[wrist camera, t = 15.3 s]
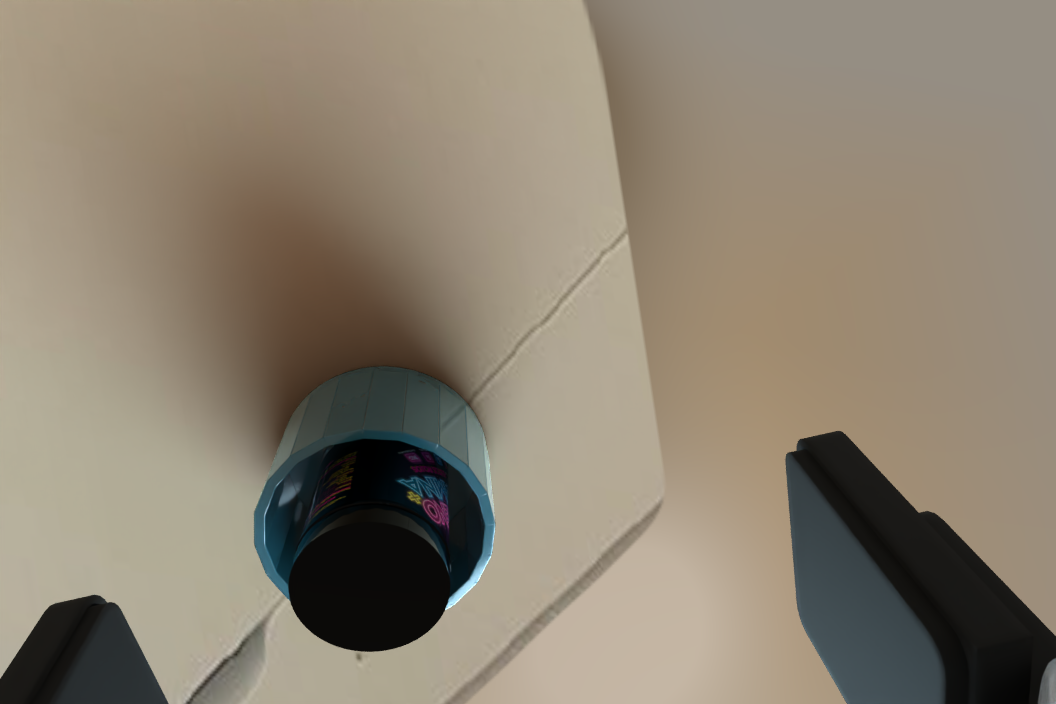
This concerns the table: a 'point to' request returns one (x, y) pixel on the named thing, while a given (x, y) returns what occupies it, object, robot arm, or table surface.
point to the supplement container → (374, 546)
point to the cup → (386, 414)
